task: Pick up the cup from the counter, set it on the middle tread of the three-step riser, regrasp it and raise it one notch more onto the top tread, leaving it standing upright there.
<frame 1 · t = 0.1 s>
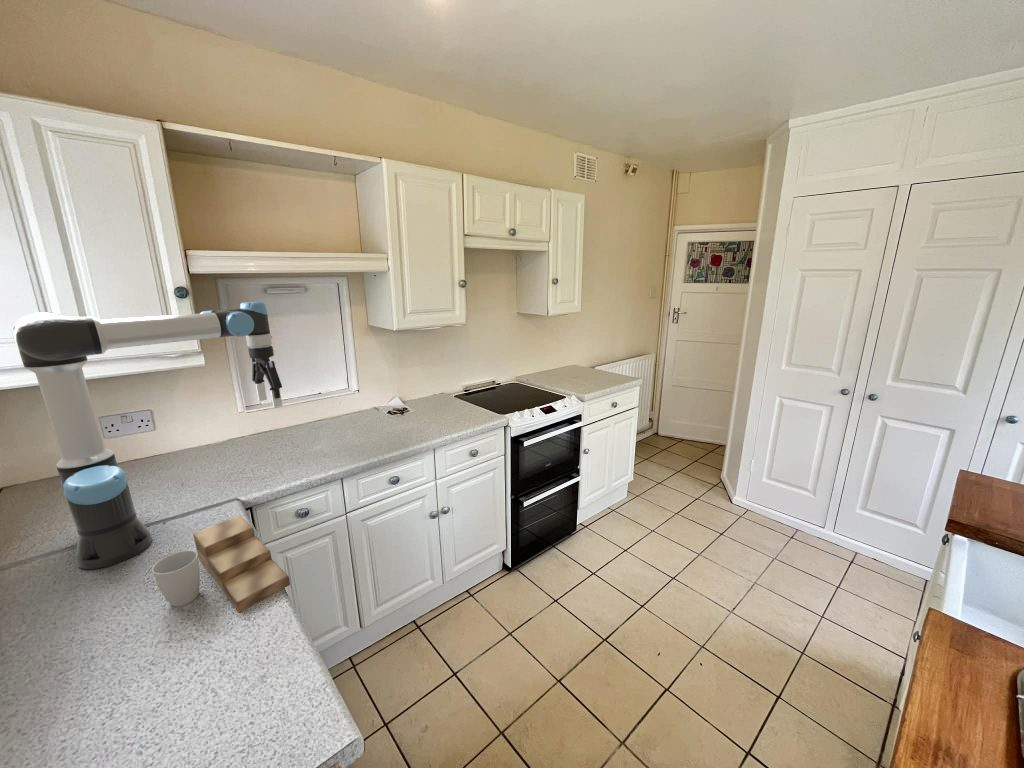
hand: (270, 403, 152), 28 cm above the countertop, fingers open, 13 cm apart
riser: (242, 570, 106), on the countertop
cup: (184, 599, 97), on the countertop
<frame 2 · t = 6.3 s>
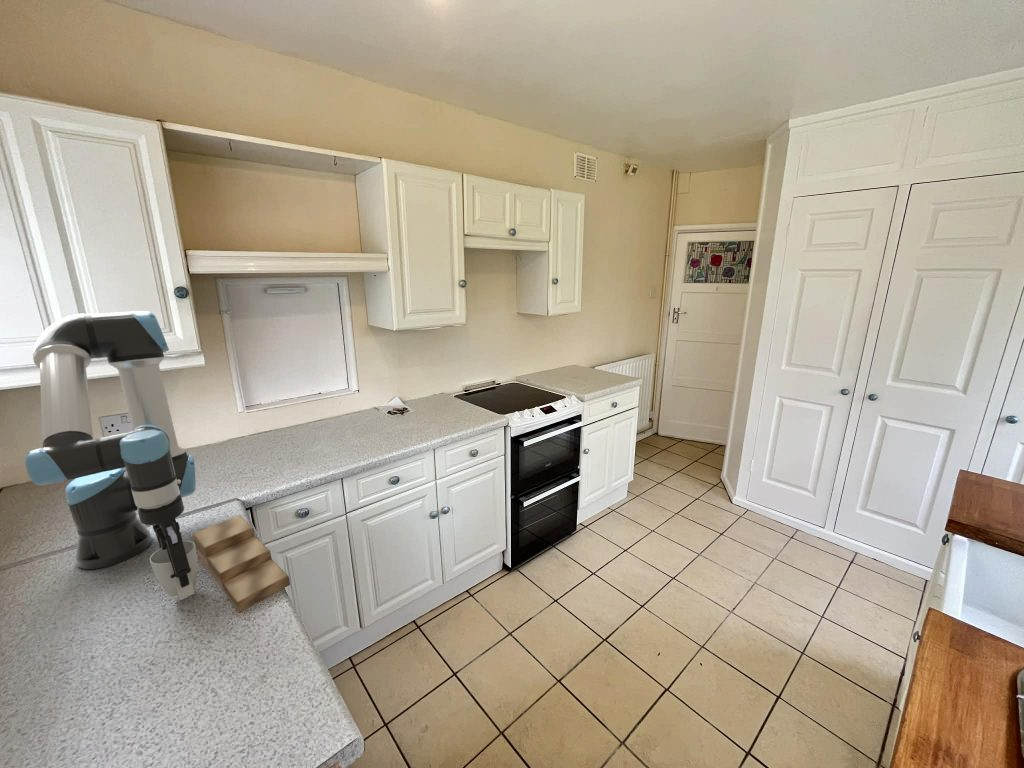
hand: (182, 587, 97), 3 cm above the countertop, fingers closed on cup, 8 cm apart
cup: (182, 589, 97), point 2 cm above the countertop, touching gripper
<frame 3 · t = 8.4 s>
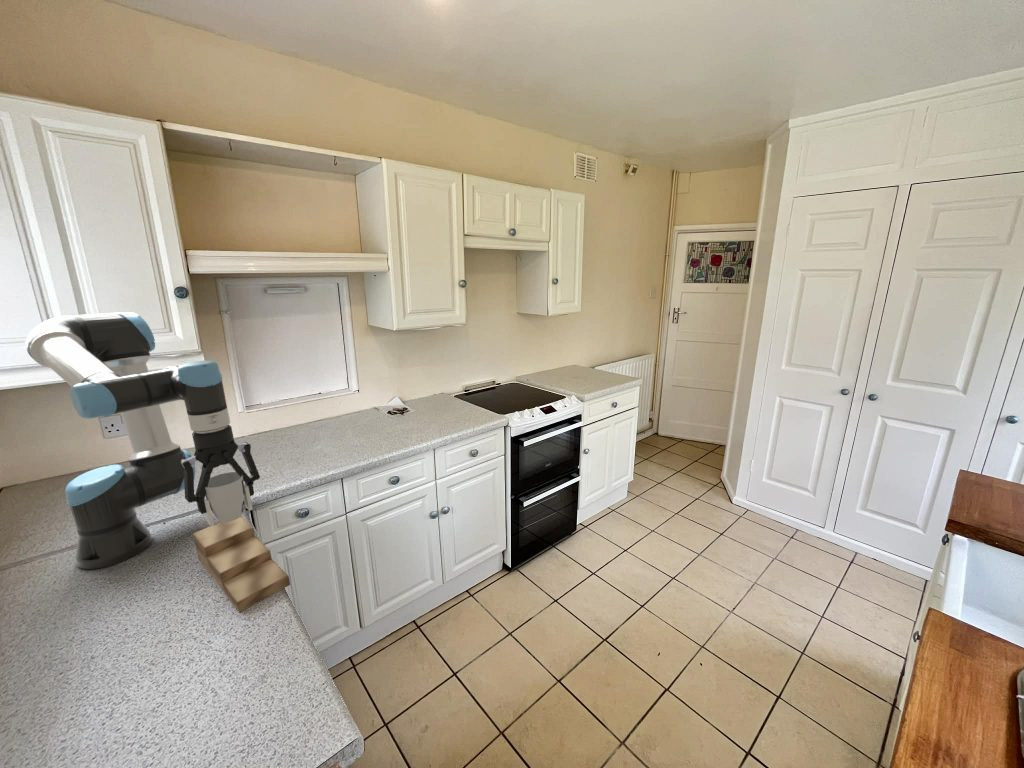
hand: (230, 515, 102), 16 cm above the countertop, fingers closed on cup, 8 cm apart
cup: (230, 517, 102), point 15 cm above the countertop, touching gripper
when the fingers open (6 cm above the countertop, at t = 10.5 s): cup stays where it is, resting on riser.
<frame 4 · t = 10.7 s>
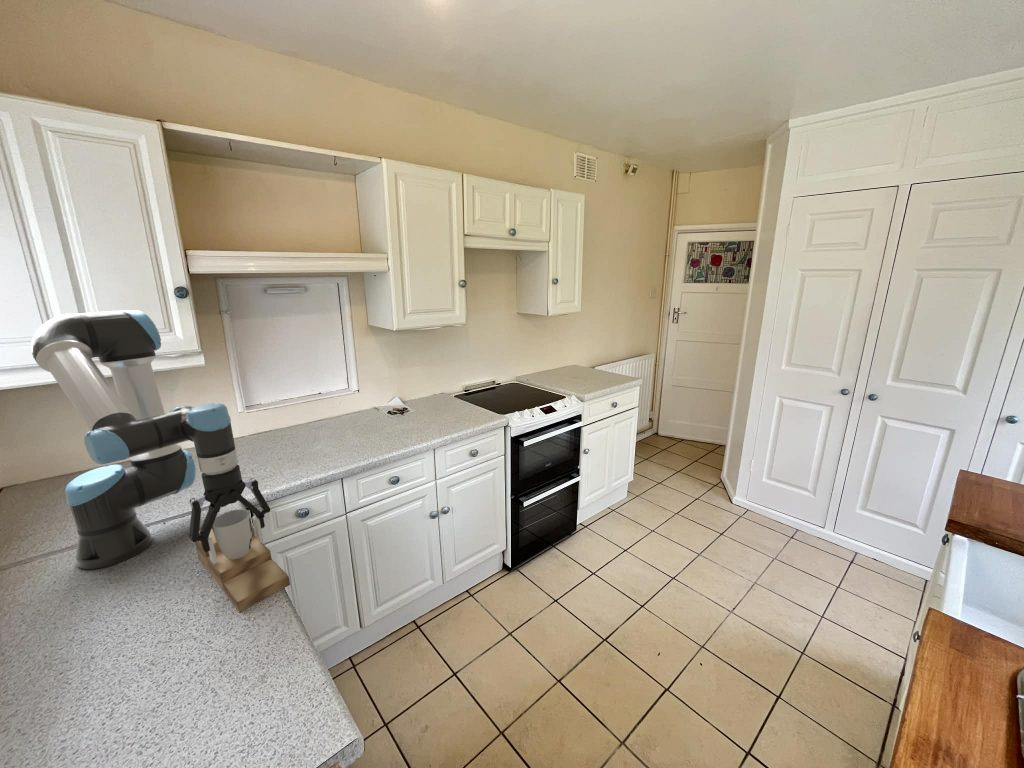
hand: (237, 550, 104), 6 cm above the countertop, fingers open, 9 cm apart
cup: (238, 553, 105), point 5 cm above the countertop, touching riser
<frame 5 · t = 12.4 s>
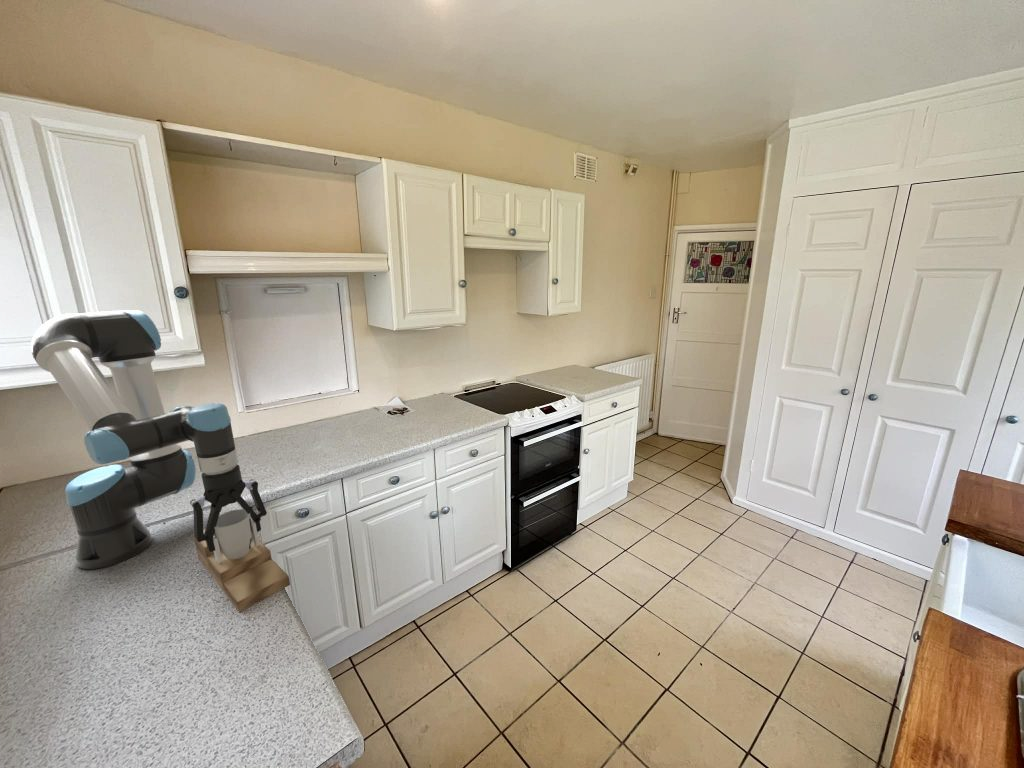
hand: (238, 551, 104), 6 cm above the countertop, fingers closed on cup, 8 cm apart
cup: (238, 553, 105), point 5 cm above the countertop, touching gripper, riser
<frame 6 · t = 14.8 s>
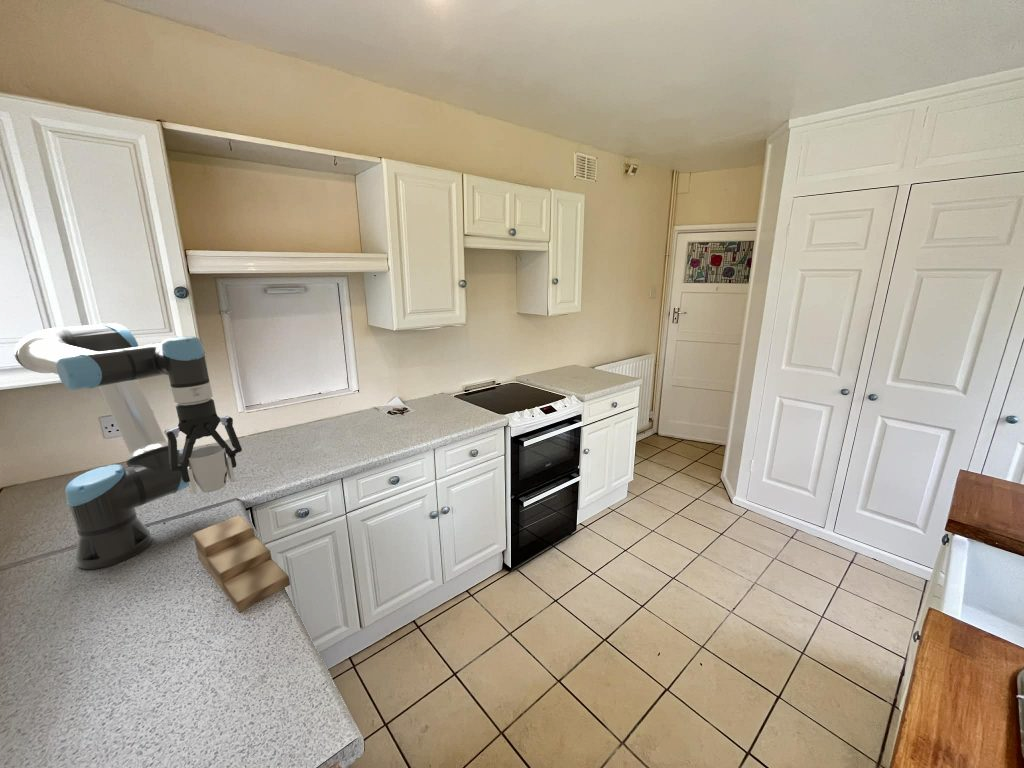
hand: (213, 485, 107), 21 cm above the countertop, fingers closed on cup, 8 cm apart
cup: (213, 488, 107), point 20 cm above the countertop, touching gripper
when the fingers open (8 cm above the countertop, at t = 17.4 s): cup stays where it is, resting on riser.
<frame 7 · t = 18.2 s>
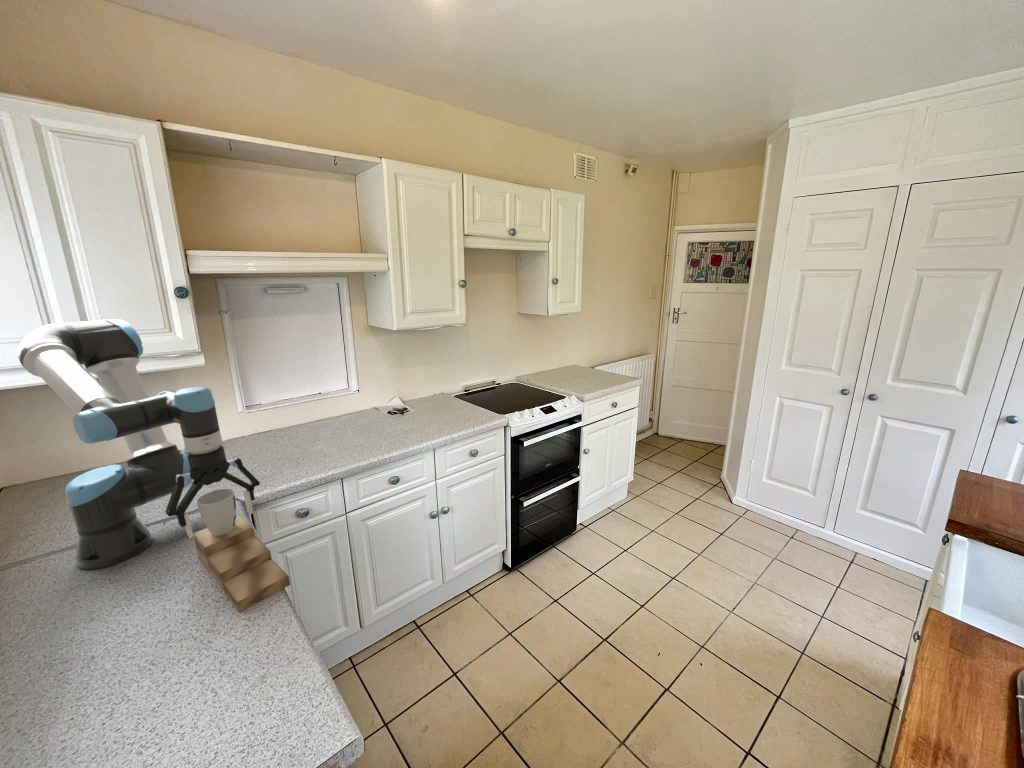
hand: (221, 523, 110), 10 cm above the countertop, fingers open, 13 cm apart
cup: (223, 530, 110), point 7 cm above the countertop, touching riser
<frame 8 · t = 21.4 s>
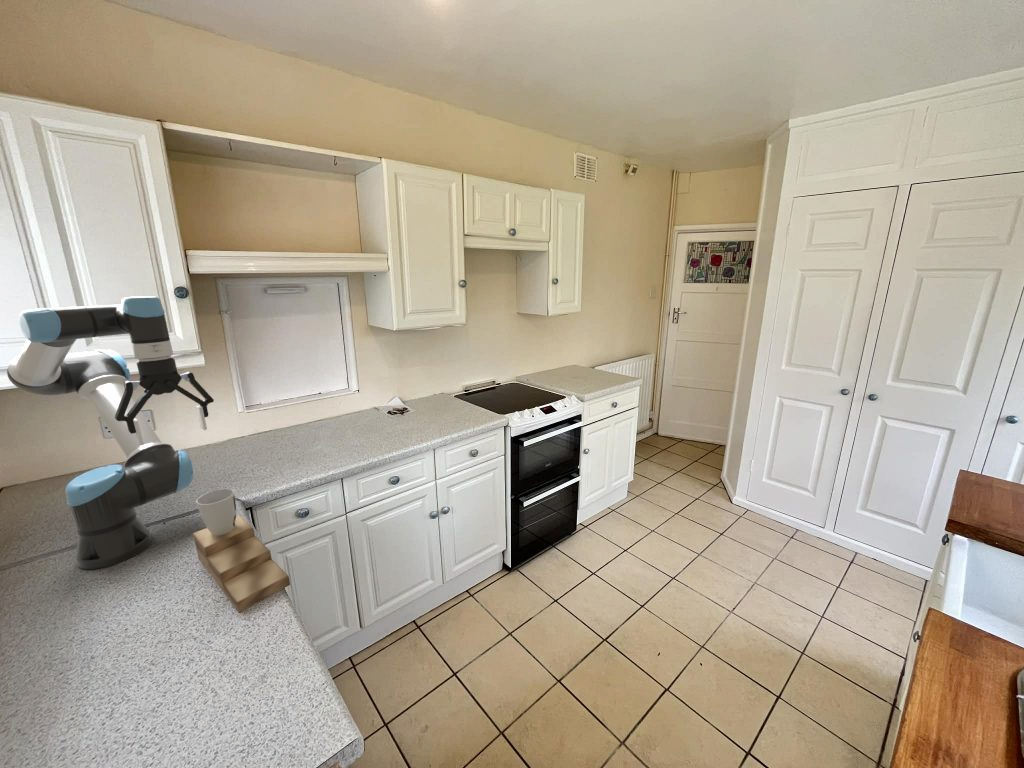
hand: (174, 436, 111), 32 cm above the countertop, fingers open, 13 cm apart
nothing on the countertop moved.
at the end: cup inside the target area (0.1 cm from its centre), point 7.5 cm above the countertop; cup tilted 0°; the gripper is holding nothing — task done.
